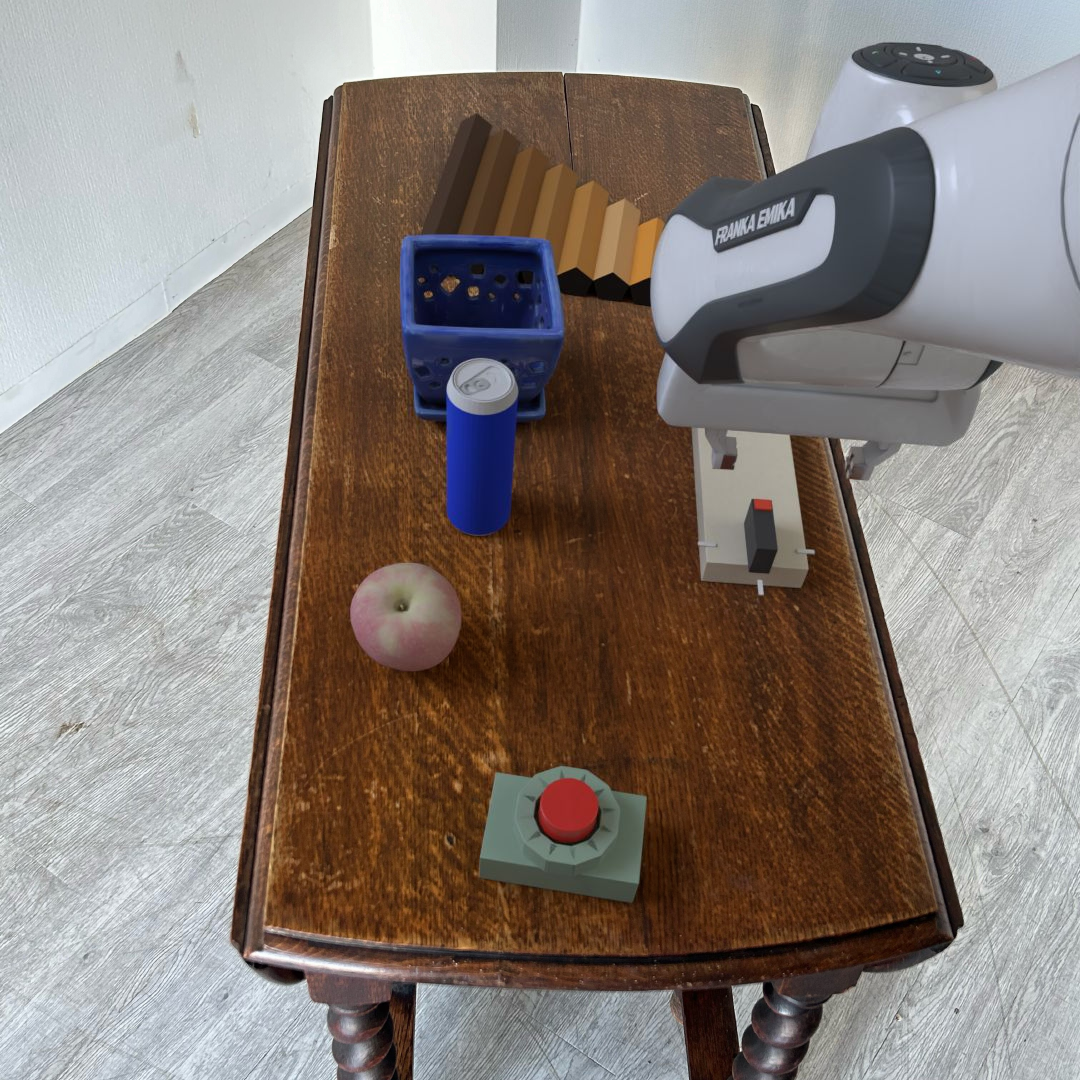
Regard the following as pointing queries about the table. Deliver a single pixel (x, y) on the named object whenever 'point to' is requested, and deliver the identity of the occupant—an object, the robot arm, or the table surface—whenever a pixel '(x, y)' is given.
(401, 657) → the apple
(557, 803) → the power button
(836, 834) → the table surface
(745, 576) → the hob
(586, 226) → the pan flute
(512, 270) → the flower pot
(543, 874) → the control block
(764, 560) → the dark grey red-tipped block
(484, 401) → the beverage can
